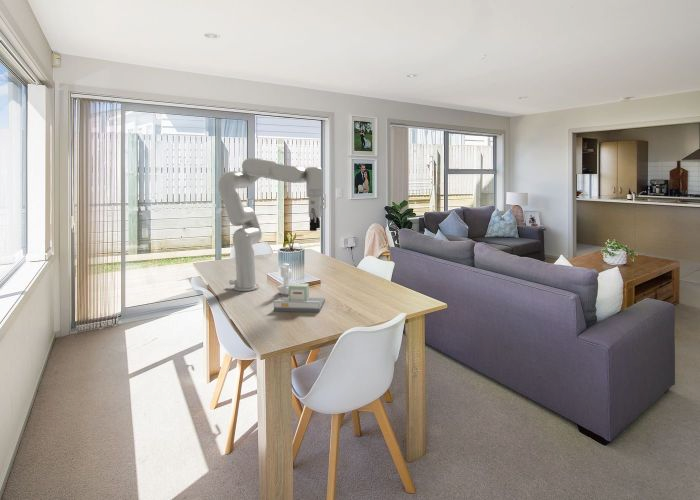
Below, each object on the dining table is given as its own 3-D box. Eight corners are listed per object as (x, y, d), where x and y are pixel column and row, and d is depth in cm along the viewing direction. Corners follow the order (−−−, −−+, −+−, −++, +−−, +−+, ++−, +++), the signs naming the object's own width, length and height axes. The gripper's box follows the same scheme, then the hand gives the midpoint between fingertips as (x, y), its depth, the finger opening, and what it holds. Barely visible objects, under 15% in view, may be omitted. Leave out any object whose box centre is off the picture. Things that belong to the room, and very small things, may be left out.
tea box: (309, 303, 186) (308, 283, 185) (306, 306, 181) (306, 286, 180) (291, 302, 187) (290, 283, 186) (288, 306, 182) (288, 286, 181)
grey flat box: (273, 311, 180) (273, 301, 179) (282, 300, 196) (282, 290, 195) (319, 312, 178) (319, 302, 177) (324, 301, 194) (324, 291, 193)
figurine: (296, 291, 211) (296, 262, 209) (290, 296, 202) (289, 266, 200) (283, 290, 213) (282, 261, 210) (276, 295, 204) (275, 265, 201)
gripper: (319, 194, 188) (319, 232, 191) (325, 192, 205) (325, 227, 208) (303, 194, 189) (303, 231, 192) (310, 192, 205) (310, 227, 209)
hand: (315, 229), depth 200 cm, fingers open, 9 cm apart
